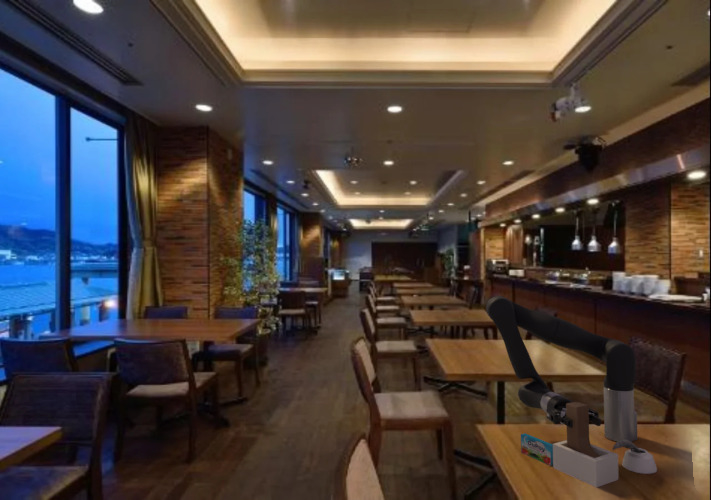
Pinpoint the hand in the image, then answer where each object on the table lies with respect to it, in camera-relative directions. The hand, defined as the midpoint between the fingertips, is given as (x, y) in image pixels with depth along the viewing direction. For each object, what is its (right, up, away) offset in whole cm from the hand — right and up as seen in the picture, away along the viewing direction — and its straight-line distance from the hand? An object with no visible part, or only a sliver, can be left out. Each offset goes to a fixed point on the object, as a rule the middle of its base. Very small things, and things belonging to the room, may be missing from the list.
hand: (585, 423), depth 146 cm
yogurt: (-10, -15, +12) cm, 22 cm away
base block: (0, -15, +1) cm, 15 cm away
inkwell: (+14, -15, +2) cm, 21 cm away
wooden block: (0, -13, +1) cm, 13 cm away
